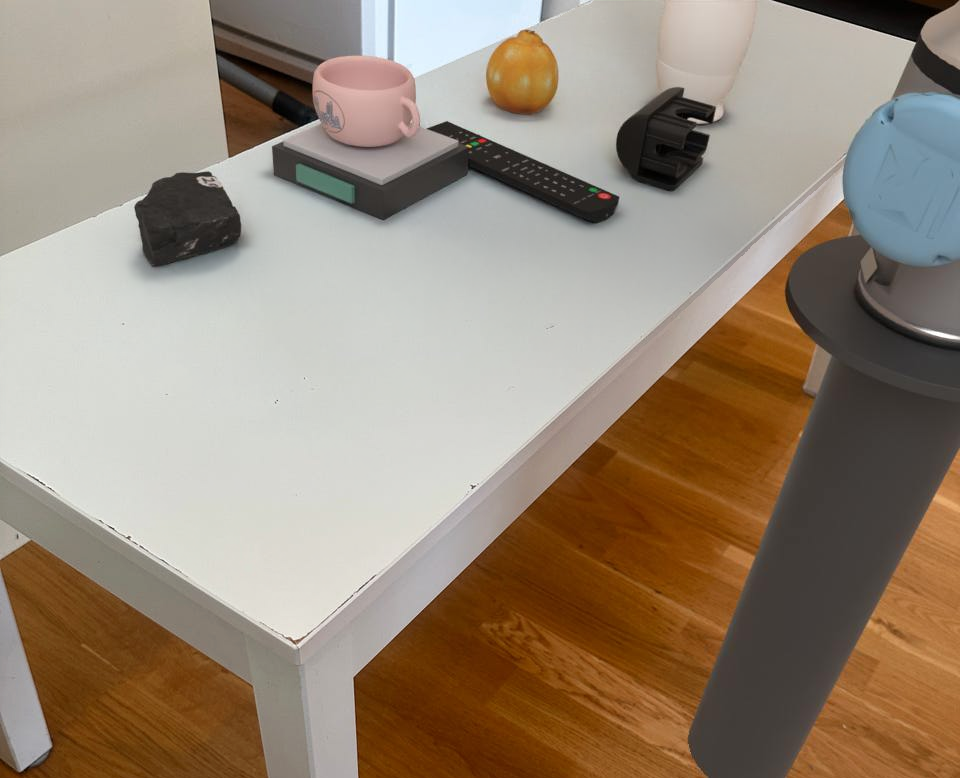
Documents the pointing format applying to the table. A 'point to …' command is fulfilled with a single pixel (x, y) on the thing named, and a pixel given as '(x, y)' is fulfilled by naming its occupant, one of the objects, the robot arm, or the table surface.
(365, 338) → the table surface
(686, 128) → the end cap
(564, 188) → the remote control
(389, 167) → the scale
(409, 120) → the mug
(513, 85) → the fruit
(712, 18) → the jar
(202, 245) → the rock
